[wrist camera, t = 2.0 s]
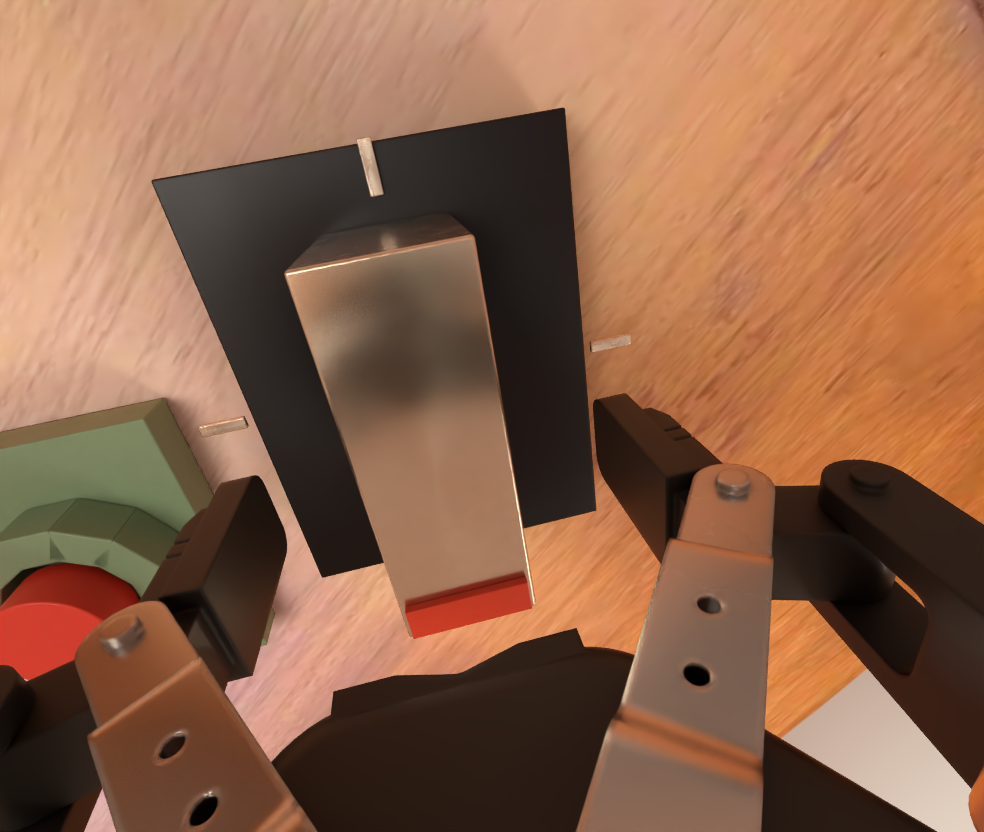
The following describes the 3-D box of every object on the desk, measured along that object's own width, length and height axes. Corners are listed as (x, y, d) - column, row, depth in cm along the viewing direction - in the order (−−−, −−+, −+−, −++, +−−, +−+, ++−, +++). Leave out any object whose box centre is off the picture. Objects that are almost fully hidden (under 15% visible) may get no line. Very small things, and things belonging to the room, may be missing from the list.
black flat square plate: (127, 183, 15) (78, 187, 13) (589, 102, 16) (623, 92, 14) (291, 546, 22) (279, 593, 19) (611, 470, 23) (636, 506, 20)
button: (-7, 577, 16) (-48, 620, 15) (109, 550, 17) (80, 590, 15) (55, 651, 18) (24, 696, 16) (160, 625, 18) (138, 667, 17)
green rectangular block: (-79, 448, 17) (-182, 510, 14) (164, 397, 18) (116, 445, 15) (91, 659, 22) (43, 739, 19) (275, 613, 23) (257, 683, 20)
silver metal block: (319, 234, 14) (279, 273, 9) (446, 210, 14) (476, 236, 9) (405, 515, 19) (409, 645, 14) (500, 493, 19) (538, 612, 14)
